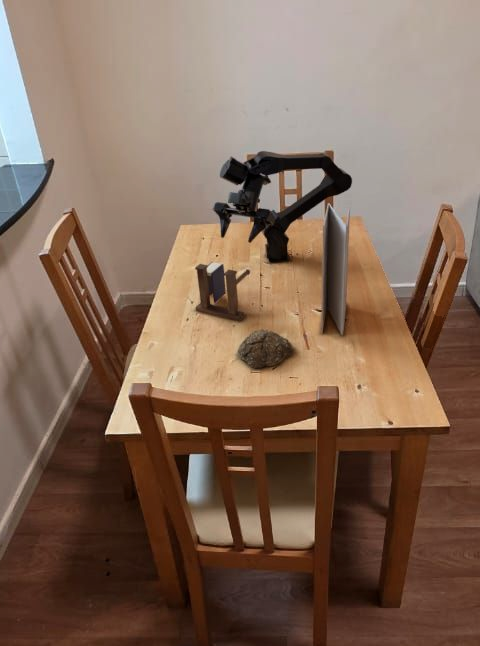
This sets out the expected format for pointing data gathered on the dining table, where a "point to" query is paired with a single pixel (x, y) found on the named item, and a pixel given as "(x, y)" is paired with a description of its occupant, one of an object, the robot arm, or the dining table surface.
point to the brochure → (335, 266)
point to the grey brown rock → (264, 349)
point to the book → (216, 280)
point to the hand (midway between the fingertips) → (235, 239)
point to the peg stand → (231, 285)
